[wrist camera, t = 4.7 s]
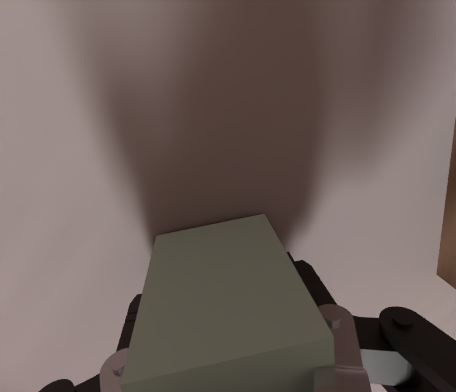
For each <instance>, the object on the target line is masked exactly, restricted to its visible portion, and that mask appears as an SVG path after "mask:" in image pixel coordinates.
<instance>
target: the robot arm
mask: <svg viewBox="0 0 456 392" xmlns="http://www.w3.org/2000/svg"><path fill="white" fill-rule="evenodd" d="M286 253H287V254H288V256H289V258H290V260H291V261H292V263H293V265H294V267H295V269H296V270H297V272H298V274H299V276H300V277H301V279H302V281H303V283H304V284H305V286H306V288H307V290H308V292H309V293H310V295H311V297H312V299H313V300H314V302H315V304H316V306H317V307H318V309H319V311H320V313H321V314H322V316H323V318H324V320H325V322H326V323H327V325H328V327H329V329H330V330H331V332H332V334H333V336H334V352H335V367H334V366H323V367H313V372H314V392H372V391H371V386H370V383H373V384H381V385H382V386H383V387H384V388H385V389H386V391H387V392H456V340H454V339H453V338H451V337H450V336H449V335H447V334H446V333H444V332H443V331H442V330H440V329H439V328H437V327H436V326H435V325H433V324H432V323H430V322H429V321H427V320H426V319H425V318H423V317H422V316H420V315H419V314H418V313H416V312H414V311H412V310H410V309H407V308H404V307H388V308H385V309H384V310H382V311H381V313H380V315H379V318H366V317H357V316H353V315H352V314H351V313H350V312H349V311H348V310H347V309H345V308H344V307H342V306H339V305H337V304H336V302H335V301H334V299H333V298H332V296H331V295H330V293H329V292H328V290H327V289H326V287H325V286H324V284H323V283H322V281H321V280H320V278H319V277H318V275H317V274H316V272H315V271H314V269H313V268H312V266H311V265H309V264H308V263H306V262H305V261H303V260H300V261H294V260H293V258H292V256H291V255H290V253H289V252H286ZM141 296H142V294H138V295H136V297H135V298H134V299H133V301H132V302H131V303H130V305H129V309H128V312H127V316H126V319H125V323H124V326H123V330H122V333H121V337H120V340H119V344H118V347H117V351H116V352H115V353H114V354H112V355H111V356H110V357H109V358H108V359H107V360H106V361H105V362H104V364H103V365H102V367H101V370H100V373H99V374H98V375H96V376H94V377H93V378H91V379H89V380H87V381H85V382H83V383H81V384H79V385H77V386H74V385H73V383H72V382H71V381H70V380H68V379H60V380H57V381H54V382H52V383H50V384H48V385H47V386H45V387H44V388H42V389H41V390H40V391H39V392H123V390H122V388H121V386H120V382H121V378H122V374H123V370H124V366H125V362H126V358H127V354H128V350H129V345H130V341H131V337H132V333H133V329H134V325H135V321H136V317H137V313H138V309H139V304H140V300H141Z"/></svg>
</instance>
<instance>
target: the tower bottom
mask: <svg viewBox="0 0 456 392" xmlns="http://www.w3.org/2000/svg"><path fill="white" fill-rule="evenodd" d="M437 275H438V276H439V277H441V278H442V279H443V280H445V281H446V282H447V283H449V284H450V285H451V286H452V287H454V288H455V289H456V120H455V128H454V136H453V144H452V152H451V161H450V169H449V177H448V185H447V193H446V201H445V210H444V218H443V226H442V234H441V242H440V250H439V258H438V267H437Z"/></svg>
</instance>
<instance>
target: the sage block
mask: <svg viewBox="0 0 456 392" xmlns="http://www.w3.org/2000/svg"><path fill="white" fill-rule="evenodd" d="M323 366H334V367H335V352H334V336H333V334H332V332H331V330H330V329H329V327H328V325H327V323H326V322H325V320H324V318H323V316H322V314H321V313H320V311H319V309H318V307H317V306H316V304H315V302H314V300H313V299H312V297H311V295H310V293H309V292H308V290H307V288H306V286H305V284H304V283H303V281H302V279H301V277H300V276H299V274H298V272H297V270H296V269H295V267H294V265H293V263H292V261H291V260H290V258H289V256H288V254H287V253H286V251H285V249H284V247H283V246H282V244H281V242H280V240H279V239H278V237H277V235H276V233H275V231H274V230H273V228H272V226H271V224H270V223H269V221H268V219H267V217H266V216H265V214H260V215H255V216H250V217H245V218H240V219H235V220H230V221H225V222H221V223H216V224H211V225H206V226H201V227H196V228H191V229H186V230H181V231H176V232H172V233H167V234H162V235H157V236H156V239H155V243H154V247H153V251H152V255H151V259H150V263H149V268H148V272H147V276H146V280H145V284H144V288H143V292H142V296H141V300H140V304H139V309H138V313H137V317H136V321H135V325H134V329H133V333H132V337H131V341H130V345H129V350H128V354H127V358H126V362H125V366H124V370H123V374H122V378H121V382H120V386H121V388H122V390H123V392H314V372H313V367H323Z"/></svg>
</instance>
